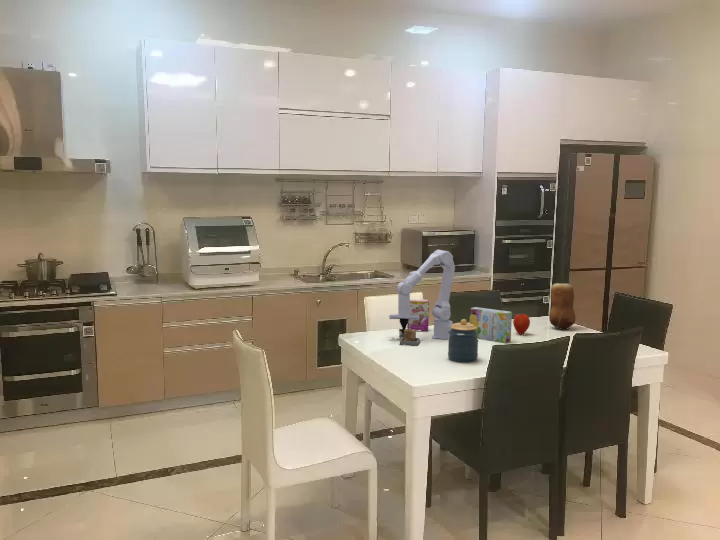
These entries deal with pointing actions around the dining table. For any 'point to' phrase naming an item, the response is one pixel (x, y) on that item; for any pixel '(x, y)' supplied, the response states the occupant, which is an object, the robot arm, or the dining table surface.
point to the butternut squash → (562, 306)
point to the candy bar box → (419, 314)
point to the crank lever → (401, 333)
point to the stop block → (409, 335)
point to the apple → (521, 323)
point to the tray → (410, 342)
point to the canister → (463, 342)
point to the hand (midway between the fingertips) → (404, 333)
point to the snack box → (492, 324)
